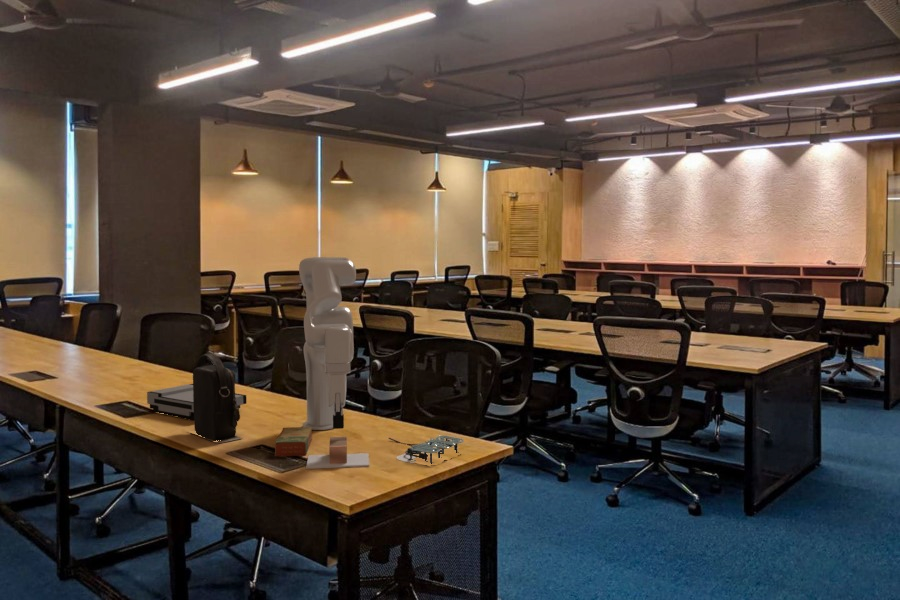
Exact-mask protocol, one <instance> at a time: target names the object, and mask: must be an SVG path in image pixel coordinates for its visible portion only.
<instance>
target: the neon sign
mask: <svg viewBox="0 0 900 600" xmlns="http://www.w3.org/2000/svg"><path fill="white" fill-rule="evenodd" d="M388 440H391V441H393V442H395V443H398V444H401V445H402V444H403V445H406V444H407V446H410V447H408V448H407V449H406V450H405V451H404V452H405V453H403V454H400V455H398V456H396V460H398V461H401V462H403V463H409V462H410V464H413V463H414V462H415V461H416V460H414V461H411V460H413V459H415V458H417V457H419V458H422V459H425V461H426V460H427V457H428V455H427V454H426V453H430V463H431V464H432V463H434V462H432V453H437V452H438V458H440V454H444V449H447V448H450V447H454V450H456V453H457V450H458V449H457V448H458V444H462V443H464V442H465V440H464V439H463V438H461V437H460V438H459V437H457V436H456V437H454V436H450V435H444V434H443V435H438V436H436V437H435V438H429V440H428V441H427V440H425V442H420V443H417V444H416V443H415V444H414V443H405V442H401V441H398V440H396V439H393V438H391V437H388ZM444 446H445V447H444ZM433 447H436V448H433ZM440 449H442V450H440ZM421 452H424V453H421ZM440 452H442V453H440ZM458 453H459V452H458ZM413 454H419V456H417V455H413ZM441 458H442V457H441ZM426 462H428V461H426Z"/></svg>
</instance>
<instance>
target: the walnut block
mask: <svg viewBox="0 0 900 600" xmlns="http://www.w3.org/2000/svg"><path fill="white" fill-rule="evenodd" d="M347 439H348V437H347V436H330V437H329V444H328V445H329V446H328V447H329V448H328V449H329V450H328V452H329V454H328V455H329V464H339V463H347V454H348V449H347V448H348V447H347V444H348V442H347V441H348V440H347Z"/></svg>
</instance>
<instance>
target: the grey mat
mask: <svg viewBox="0 0 900 600" xmlns="http://www.w3.org/2000/svg"><path fill="white" fill-rule="evenodd" d="M369 457H370V455H369V452H368V453H367V452H365V453H364V452H361V453H360V452H359V453H347V463H339V464H329V454H309V455H308V457H307V462H306V465H305V469H306V470H310V469H311V470H312V469H335V468H339V469H340V468H361V467H363V468H364V467H367V468H368V467H370V458H369Z"/></svg>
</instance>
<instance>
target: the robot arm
mask: <svg viewBox="0 0 900 600" xmlns="http://www.w3.org/2000/svg"><path fill="white" fill-rule="evenodd" d="M298 265H299V266H298V272H299V278H300V281H301V284H302V286H303V290H304V291H305V297H306V311H305V313H304V317H303V328H304V329H303V330H304V339H305V342H304V345H303V356H304V361H305V362H304V363H305V374H306V421H304V422H302V427H311V428H312V431H326V430H327V431H328V430H338V429H339V430H340V429H341V430H342V429H344V428H345V420H344V419H345V418H344V417H345V415H344V407H345V406H346V398H347V375H348V374H351V362H352V360H353V359H354V354H355V351H354V350H355V347H354V346H355V344H354V321H353V320H354V319H353V313H352V311H351V309H350V308H349V307H347V306H339V305H340V304H341V302H342V299H343V297H342V291H341V286H352V285H354V283H355V282H356V278H357V269H356V266H355V264H354V262H353V261H352V260H351V259H349V258H347V257H341V256H340V257H339V256H338V257H334V256H332V257H331V256H329V257H325V256H324V257H323V256H319V257H317V256H314V257H307V258H303V259H302V260H301V261H300V262H299V264H298Z"/></svg>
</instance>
